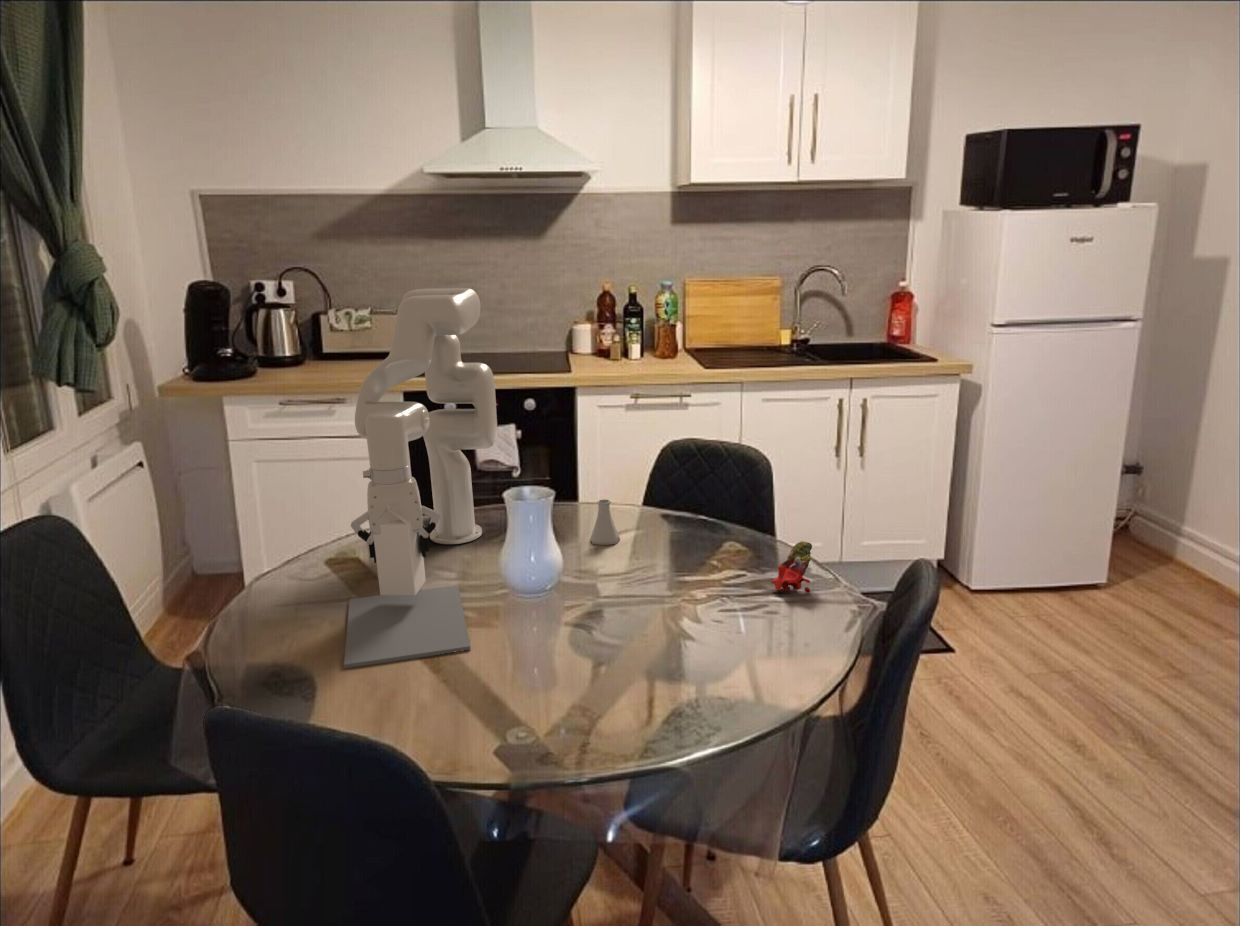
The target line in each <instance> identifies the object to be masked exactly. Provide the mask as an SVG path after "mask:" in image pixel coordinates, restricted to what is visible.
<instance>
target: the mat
mask: <svg viewBox="0 0 1240 926" xmlns="http://www.w3.org/2000/svg"><path fill="white" fill-rule="evenodd" d="M348 602H349V603H348V604H349V605H348V613H347V614H348V615H347V625H346V637H345V638H346V639H345V648H344V657H343V658H344V659H343V667H344V669H350V668H359V667H364V666H366V667H367V666H372V665H378V664H384V663H385V664H386V663H392V662H399V661H406V660H411V659H419V658H424V657H425V658H426V657H427V658H428V657H433V656H441V655H446V654H445V653H447V654H451V653H450V652H454V651H461V652H463V651H462V650H468V651H470V650H469V649H471V643H470V638H469V633H468V627H467V623H466V619H465V618H466V617H465V613H464V608H463V603H462V598H461V593H460V588H459V585H458V584H456V585H450V586H441V587H440V586H439V587H435V588H434V587H433V588H428V589H420V590H419V591H418V592H417V594H416V595H415V596H411V595H380V594H378V595H373V596H372V595H371V596H364V597H363V596H362V597H357V598H350V599H349V601H348ZM454 653H455V652H454ZM440 654H441V655H440Z"/></svg>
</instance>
